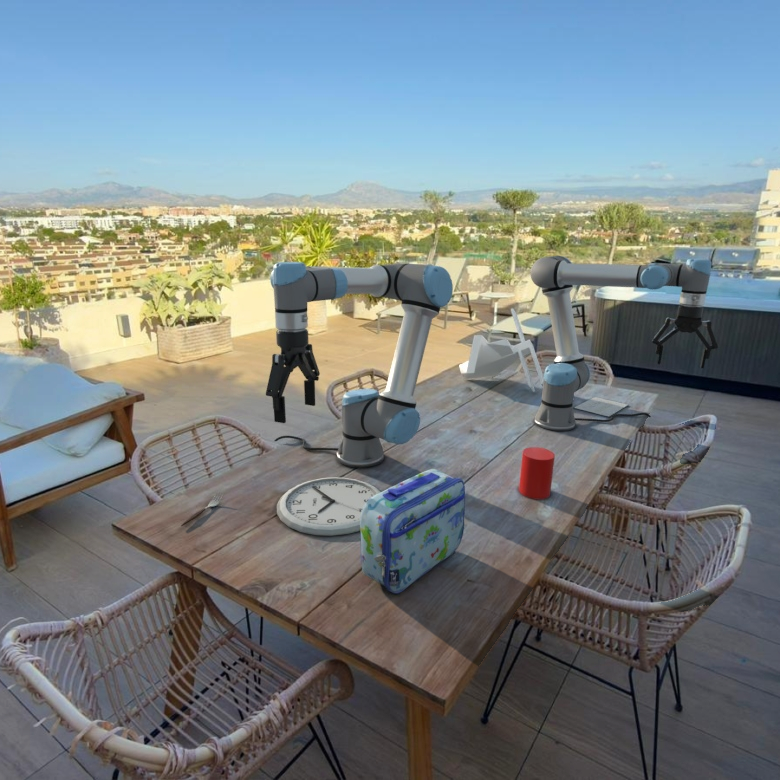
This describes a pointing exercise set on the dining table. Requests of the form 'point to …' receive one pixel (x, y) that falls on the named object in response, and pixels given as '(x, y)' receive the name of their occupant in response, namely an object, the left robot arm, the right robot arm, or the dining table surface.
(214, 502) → the fork
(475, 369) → the white plastic object
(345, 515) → the wall clock
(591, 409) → the invitation card
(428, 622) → the dining table surface
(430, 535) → the lunch box
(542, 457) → the tin
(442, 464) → the dining table surface
